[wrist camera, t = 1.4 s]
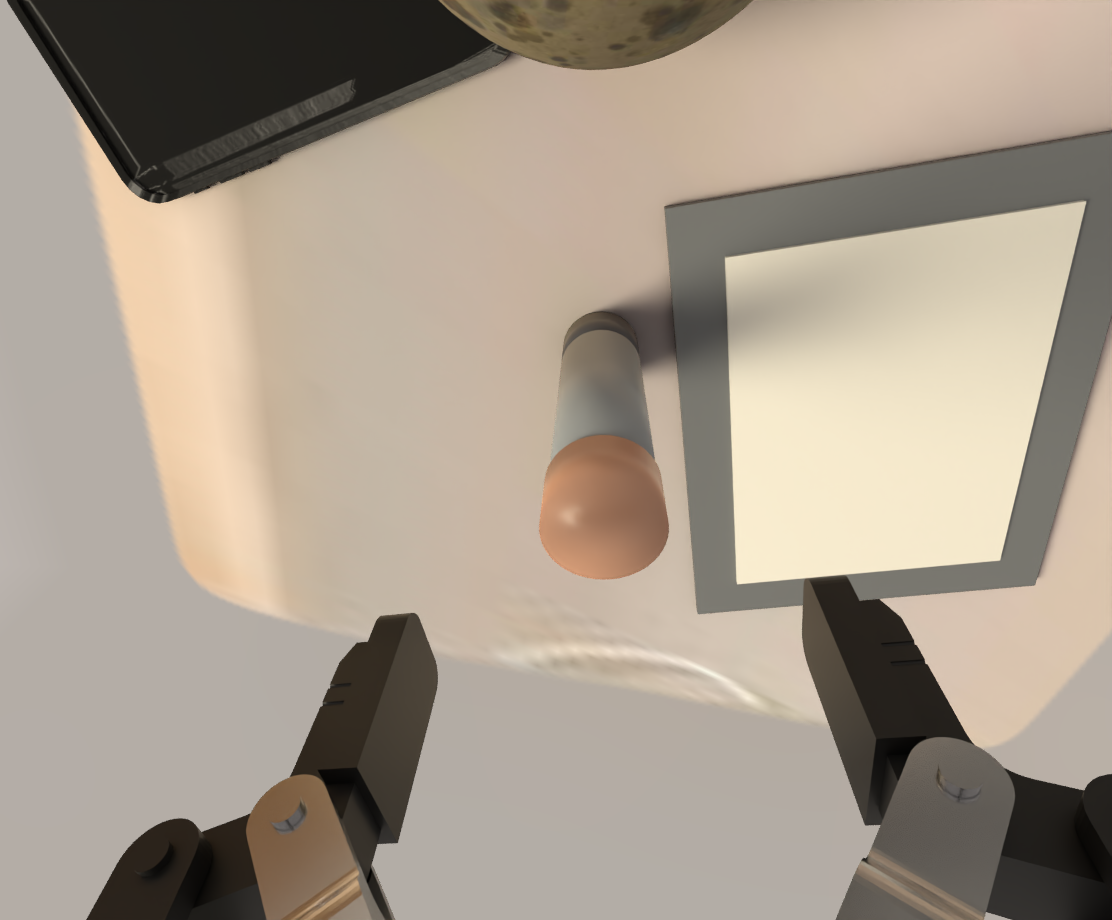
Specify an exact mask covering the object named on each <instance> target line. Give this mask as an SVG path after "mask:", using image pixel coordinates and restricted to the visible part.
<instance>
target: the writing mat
mask: <svg viewBox="0 0 1112 920" xmlns="http://www.w3.org/2000/svg"><path fill="white" fill-rule="evenodd" d="M664 208H665V221H666V233H667V245H668V258H669V270H670V283H671V295H672V307H673V320H674V332H675V345H676V357H677V369H678V382H679V394H680V407H681V419H682V431H683V444H684V456H685V469H686V481H687V493H688V506H689V518H690V531H691V543H692V555H693V568H694V580H695V593H696V605H697V612H698V614H706V613H717V612H729V611H741V610H753V609H764V608H776V607H788V606H800V605H803V587H804V580H805V578H813V577H824V576H834V575H846V576H847V577H848V579H849V581H850V582H851V585H852V587H853V589H854V591H855V593H856V595H857V597H858V599H859V600H870V599H882V598H893V597H905V596H917V595H929V594H940V593H952V592H964V591H976V590H987V589H999V588H1011V587H1022V586H1034V585H1035V584H1036V580H1037V577H1038V573H1039V569H1040V566H1041V562H1042V559H1043V555H1044V552H1045V548H1046V545H1047V541H1048V538H1049V534H1050V531H1051V527H1052V524H1053V520H1054V517H1055V513H1056V510H1057V506H1058V503H1059V499H1060V496H1061V492H1062V489H1063V485H1064V482H1065V478H1066V475H1067V471H1068V468H1069V464H1070V461H1071V457H1072V453H1073V450H1074V446H1075V443H1076V439H1077V436H1078V432H1079V429H1080V425H1081V422H1082V418H1083V415H1084V411H1085V408H1086V404H1087V401H1088V397H1089V394H1090V390H1091V387H1092V383H1093V380H1094V376H1095V373H1096V369H1097V366H1098V362H1099V359H1100V355H1101V352H1102V348H1103V345H1104V341H1105V337H1106V334H1107V330H1108V327H1109V323H1110V320H1111V316H1112V131H1108V132H1102V133H1096V134H1090V135H1084V136H1078V137H1072V138H1067V139H1061V140H1055V141H1049V142H1043V143H1037V144H1031V145H1025V146H1019V147H1013V148H1008V149H1002V150H996V151H990V152H984V153H978V154H972V155H966V156H960V157H955V158H949V159H943V160H937V161H931V162H925V163H919V164H913V165H907V166H901V167H896V168H890V169H884V170H878V171H872V172H866V173H860V174H854V175H848V176H842V177H837V178H831V179H825V180H819V181H813V182H807V183H801V184H795V185H789V186H784V187H778V188H772V189H766V190H760V191H754V192H748V193H742V194H736V195H730V196H725V197H719V198H713V199H707V200H701V201H695V202H689V203H683V204H677V205H671V206H666V207H664Z"/></svg>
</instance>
